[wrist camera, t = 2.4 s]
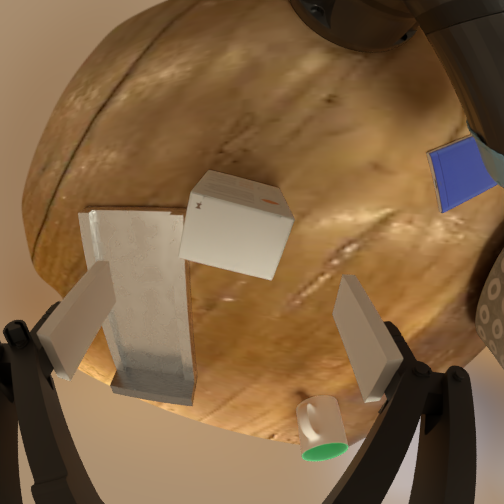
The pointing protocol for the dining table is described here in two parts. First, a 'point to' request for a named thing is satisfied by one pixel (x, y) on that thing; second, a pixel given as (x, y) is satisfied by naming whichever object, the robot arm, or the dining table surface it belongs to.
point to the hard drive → (458, 173)
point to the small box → (236, 225)
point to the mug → (320, 428)
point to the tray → (145, 299)
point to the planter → (492, 311)
